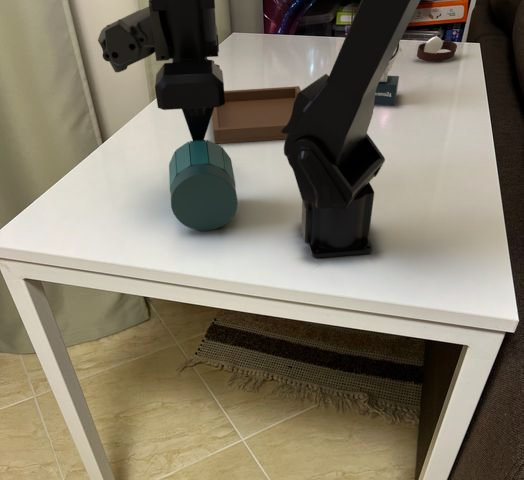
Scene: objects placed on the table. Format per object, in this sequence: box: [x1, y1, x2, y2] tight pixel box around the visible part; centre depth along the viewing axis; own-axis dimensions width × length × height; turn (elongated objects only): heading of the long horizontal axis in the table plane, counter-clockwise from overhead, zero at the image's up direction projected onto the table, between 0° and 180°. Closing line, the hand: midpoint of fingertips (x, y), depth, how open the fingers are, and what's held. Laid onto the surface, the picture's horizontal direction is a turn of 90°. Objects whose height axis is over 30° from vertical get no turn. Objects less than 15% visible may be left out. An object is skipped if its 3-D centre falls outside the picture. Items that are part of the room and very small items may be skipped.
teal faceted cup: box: [168, 139, 239, 232], centre depth 62 cm, size 7×7×7 cm
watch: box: [374, 41, 404, 107], centre depth 86 cm, size 6×8×11 cm
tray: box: [211, 85, 301, 145], centre depth 84 cm, size 15×16×2 cm
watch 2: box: [416, 35, 458, 63], centre depth 103 cm, size 8×5×4 cm, turn 105°
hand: (198, 142), depth 62 cm, fingers closed
